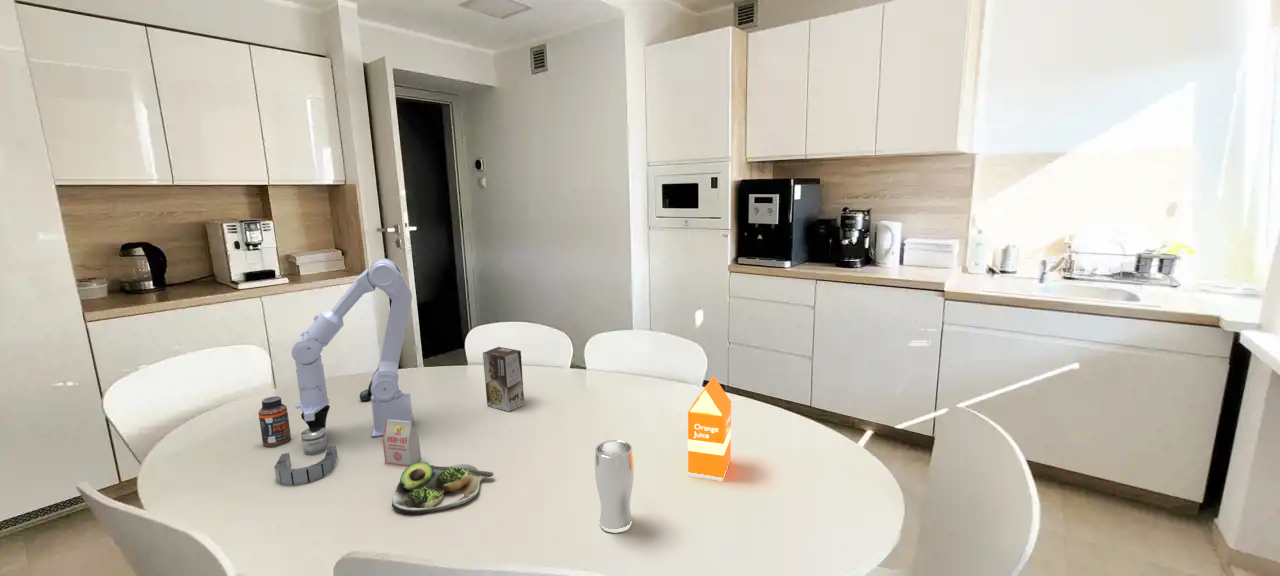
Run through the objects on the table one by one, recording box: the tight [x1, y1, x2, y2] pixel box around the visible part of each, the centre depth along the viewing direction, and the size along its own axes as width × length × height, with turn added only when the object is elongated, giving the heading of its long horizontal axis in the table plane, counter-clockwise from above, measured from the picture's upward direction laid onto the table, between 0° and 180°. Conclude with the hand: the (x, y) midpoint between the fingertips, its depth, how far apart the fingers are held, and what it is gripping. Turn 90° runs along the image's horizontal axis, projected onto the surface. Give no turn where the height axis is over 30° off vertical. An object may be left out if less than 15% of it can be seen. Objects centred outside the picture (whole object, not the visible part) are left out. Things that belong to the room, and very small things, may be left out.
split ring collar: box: [274, 445, 339, 486], centre depth 123 cm, size 11×10×3 cm
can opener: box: [358, 379, 372, 401], centre depth 171 cm, size 18×7×6 cm, turn 13°
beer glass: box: [594, 439, 635, 529], centre depth 101 cm, size 7×7×15 cm
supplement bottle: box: [258, 395, 292, 447], centre depth 137 cm, size 6×6×11 cm
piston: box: [300, 427, 329, 456], centre depth 133 cm, size 5×5×5 cm
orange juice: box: [687, 375, 732, 478], centre depth 119 cm, size 8×9×20 cm
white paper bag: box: [382, 419, 422, 467], centre depth 126 cm, size 4×7×10 cm, turn 75°
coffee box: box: [482, 346, 525, 412], centre depth 157 cm, size 9×6×16 cm
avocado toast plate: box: [391, 461, 494, 515], centre depth 115 cm, size 19×18×5 cm
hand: (319, 437), depth 138 cm, fingers closed
